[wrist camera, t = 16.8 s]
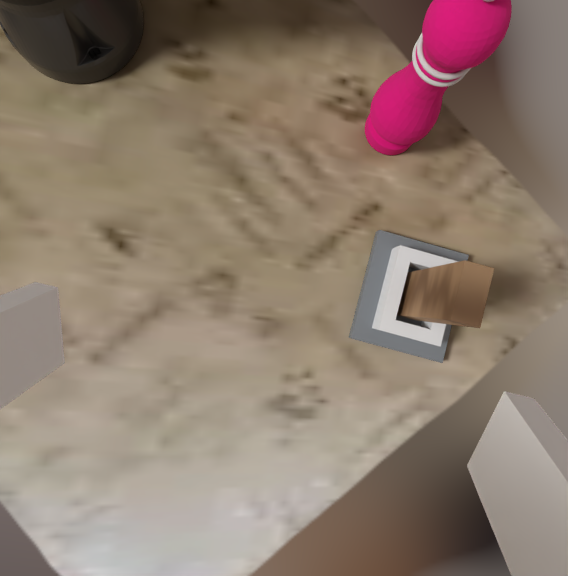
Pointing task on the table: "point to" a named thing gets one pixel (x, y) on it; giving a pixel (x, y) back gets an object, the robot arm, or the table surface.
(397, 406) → the table surface
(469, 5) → the pepper mill
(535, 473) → the robot arm
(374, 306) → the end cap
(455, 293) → the wooden slat
